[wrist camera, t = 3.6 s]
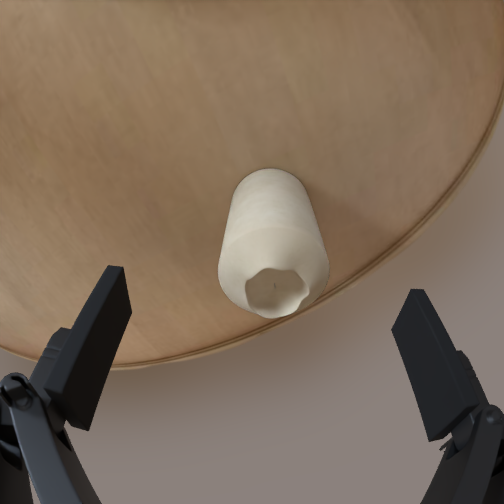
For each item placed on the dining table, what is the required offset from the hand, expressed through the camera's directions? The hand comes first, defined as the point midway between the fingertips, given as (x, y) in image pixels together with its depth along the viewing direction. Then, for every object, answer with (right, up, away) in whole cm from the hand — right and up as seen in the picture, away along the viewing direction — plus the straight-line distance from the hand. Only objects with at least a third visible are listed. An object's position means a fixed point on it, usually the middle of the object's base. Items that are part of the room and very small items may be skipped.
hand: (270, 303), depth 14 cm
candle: (+1, +6, +9) cm, 11 cm away
